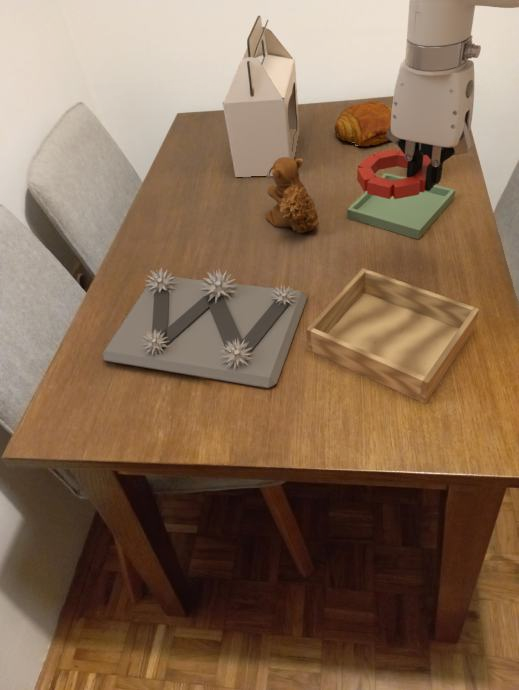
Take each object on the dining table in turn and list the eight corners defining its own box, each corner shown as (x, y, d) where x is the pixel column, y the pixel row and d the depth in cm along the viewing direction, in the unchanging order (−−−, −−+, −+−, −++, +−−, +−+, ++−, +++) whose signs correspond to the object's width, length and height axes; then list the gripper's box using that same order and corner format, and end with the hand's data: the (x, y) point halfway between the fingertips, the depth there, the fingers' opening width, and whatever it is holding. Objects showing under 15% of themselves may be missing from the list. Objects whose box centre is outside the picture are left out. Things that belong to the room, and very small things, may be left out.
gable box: (291, 176, 120) (279, 42, 100) (235, 178, 123) (212, 48, 103) (300, 131, 135) (291, 7, 115) (249, 134, 138) (232, 13, 117)
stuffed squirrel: (305, 199, 113) (300, 141, 103) (333, 233, 103) (331, 172, 94) (261, 213, 112) (253, 155, 102) (286, 248, 102) (280, 188, 92)
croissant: (331, 136, 136) (326, 106, 130) (389, 116, 134) (386, 84, 129) (347, 161, 125) (342, 129, 120) (410, 139, 124) (408, 106, 119)
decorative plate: (101, 365, 87) (86, 335, 82) (156, 281, 100) (145, 251, 95) (275, 394, 78) (270, 363, 73) (309, 298, 91) (307, 266, 86)
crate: (473, 333, 81) (479, 308, 77) (424, 407, 73) (428, 383, 69) (362, 291, 91) (362, 267, 87) (308, 352, 83) (305, 329, 79)
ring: (444, 169, 81) (445, 157, 80) (412, 205, 76) (413, 192, 74) (379, 155, 87) (380, 144, 85) (345, 188, 81) (345, 176, 80)
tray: (454, 198, 106) (455, 189, 105) (418, 239, 99) (419, 230, 97) (385, 181, 114) (385, 172, 113) (347, 218, 106) (346, 209, 105)
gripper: (512, 47, 64) (485, 183, 77) (392, 36, 72) (386, 162, 85) (489, 70, 60) (464, 209, 73) (365, 57, 68) (363, 185, 81)
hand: (422, 183), depth 79 cm, fingers closed on ring, 2 cm apart
